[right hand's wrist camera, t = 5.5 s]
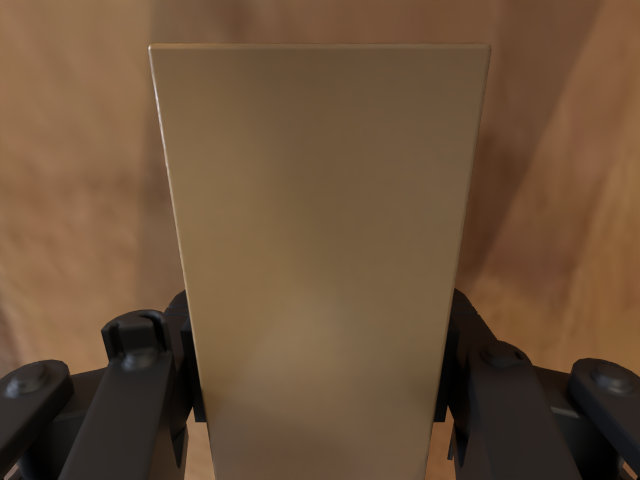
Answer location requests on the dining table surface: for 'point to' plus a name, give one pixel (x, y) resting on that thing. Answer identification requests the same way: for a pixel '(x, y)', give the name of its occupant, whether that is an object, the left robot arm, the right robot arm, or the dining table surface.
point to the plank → (319, 243)
